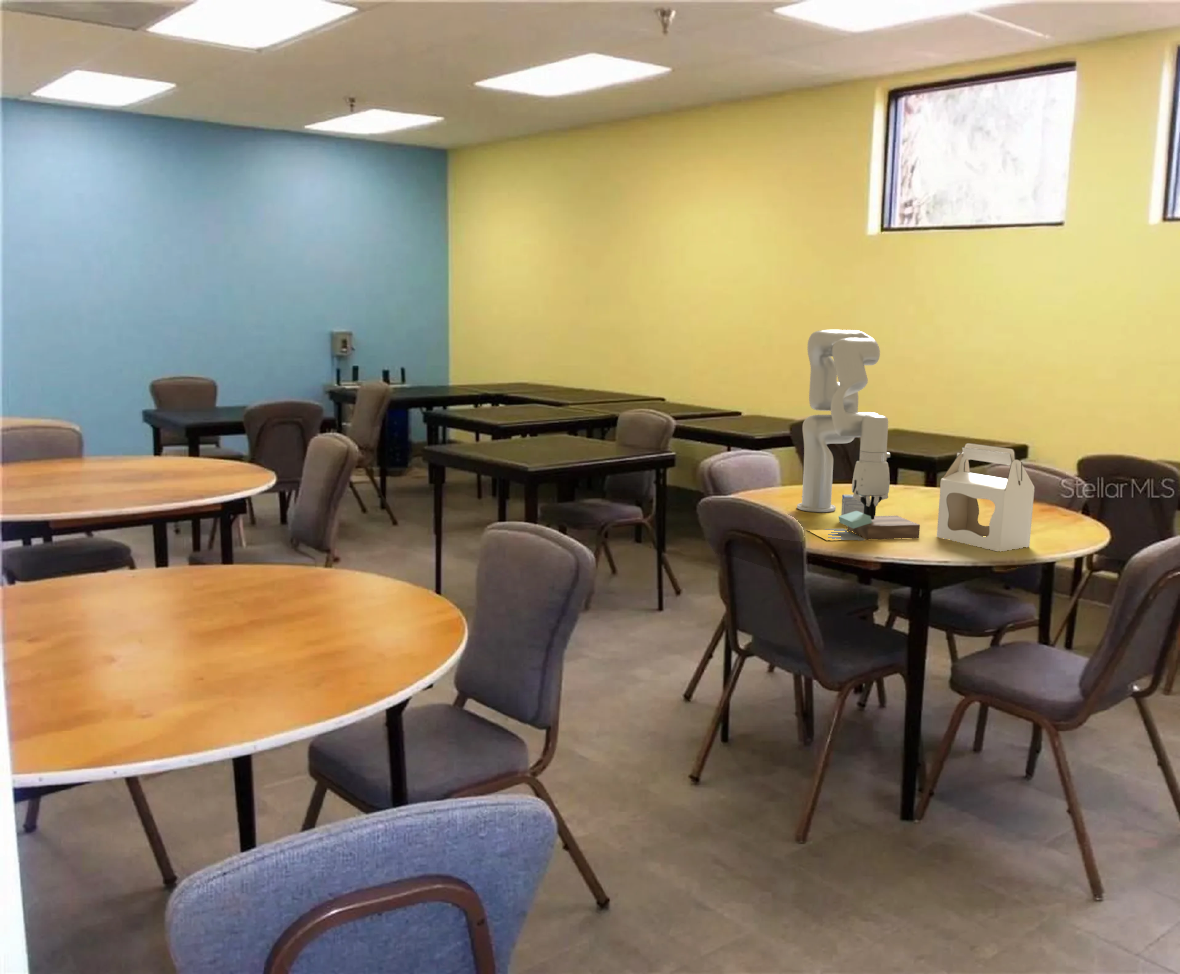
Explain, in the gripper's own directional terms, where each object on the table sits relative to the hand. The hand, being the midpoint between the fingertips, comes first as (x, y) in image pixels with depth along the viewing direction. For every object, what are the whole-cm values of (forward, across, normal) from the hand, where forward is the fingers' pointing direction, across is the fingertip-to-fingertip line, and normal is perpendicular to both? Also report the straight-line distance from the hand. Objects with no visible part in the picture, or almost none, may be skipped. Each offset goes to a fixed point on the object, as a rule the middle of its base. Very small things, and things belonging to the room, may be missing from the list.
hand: (869, 518), depth 303 cm
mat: (+5, +10, 0) cm, 11 cm away
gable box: (+5, -28, +14) cm, 32 cm away
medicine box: (+5, -4, -17) cm, 18 cm away
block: (+1, +4, 0) cm, 5 cm away
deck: (+5, -5, 0) cm, 7 cm away
